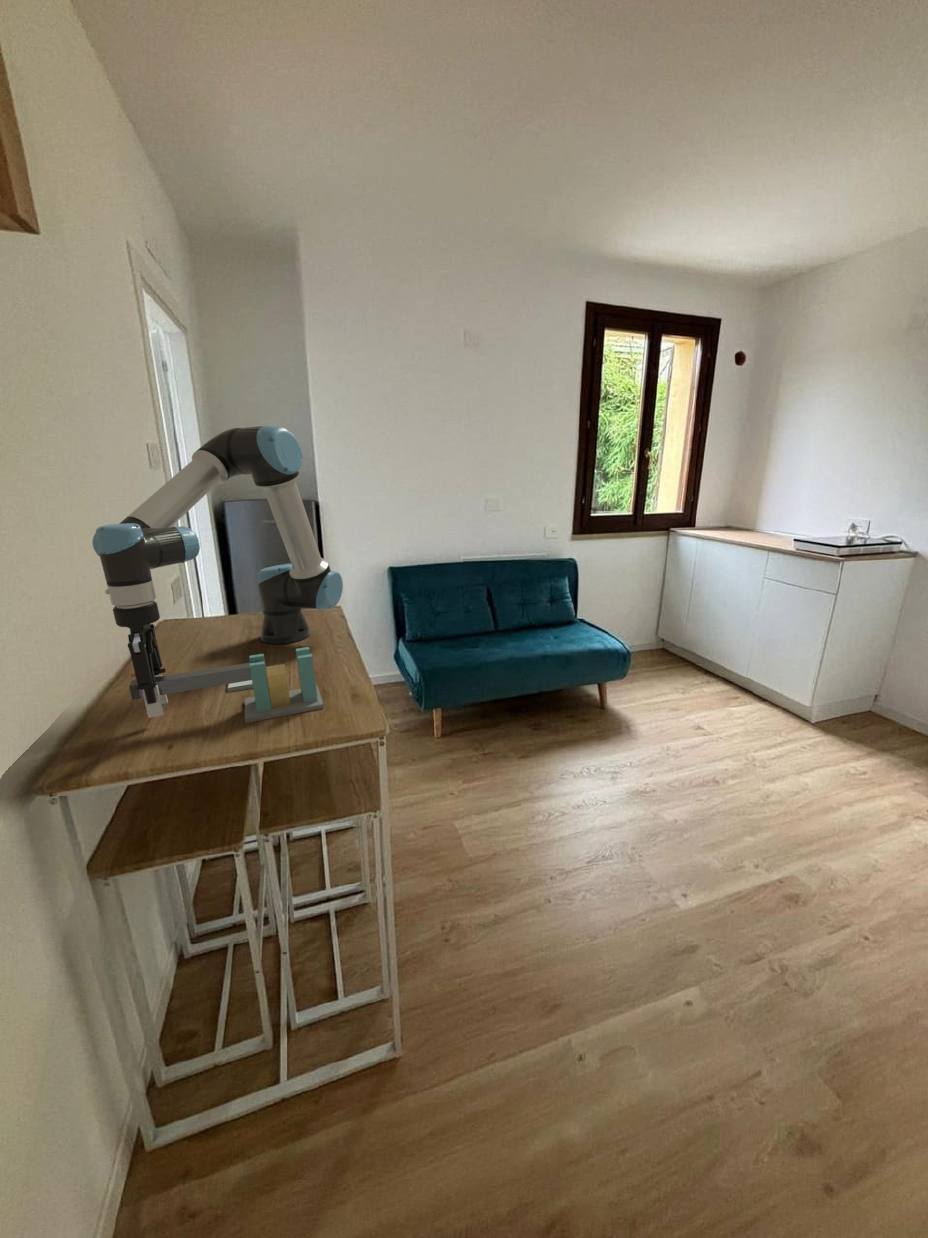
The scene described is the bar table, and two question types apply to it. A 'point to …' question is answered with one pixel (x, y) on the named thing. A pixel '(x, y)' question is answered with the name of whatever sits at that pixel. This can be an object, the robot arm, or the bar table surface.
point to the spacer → (278, 686)
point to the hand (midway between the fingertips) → (158, 709)
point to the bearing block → (299, 698)
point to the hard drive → (240, 686)
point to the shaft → (197, 679)
